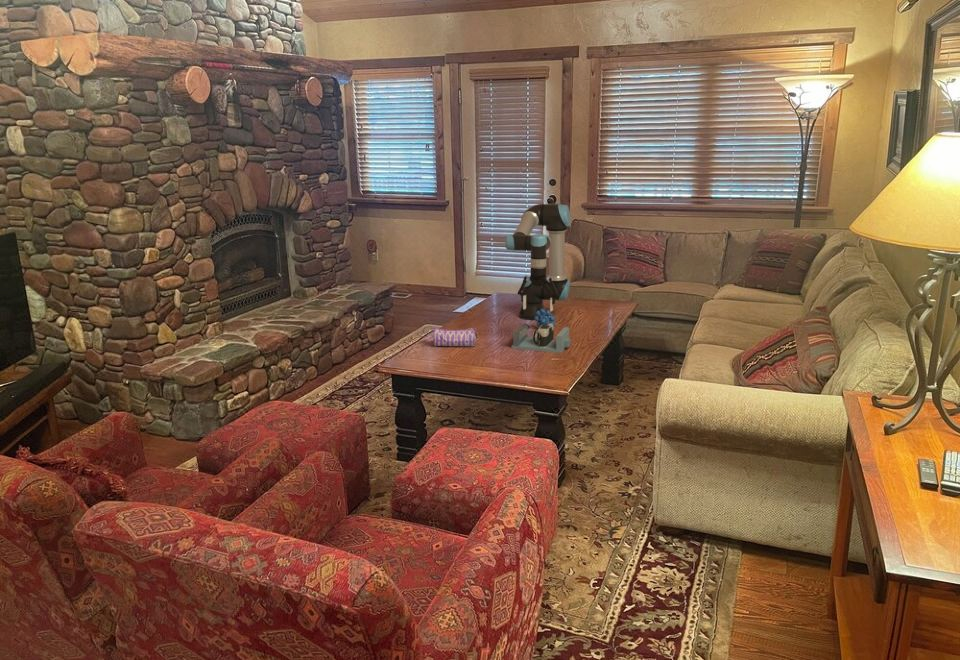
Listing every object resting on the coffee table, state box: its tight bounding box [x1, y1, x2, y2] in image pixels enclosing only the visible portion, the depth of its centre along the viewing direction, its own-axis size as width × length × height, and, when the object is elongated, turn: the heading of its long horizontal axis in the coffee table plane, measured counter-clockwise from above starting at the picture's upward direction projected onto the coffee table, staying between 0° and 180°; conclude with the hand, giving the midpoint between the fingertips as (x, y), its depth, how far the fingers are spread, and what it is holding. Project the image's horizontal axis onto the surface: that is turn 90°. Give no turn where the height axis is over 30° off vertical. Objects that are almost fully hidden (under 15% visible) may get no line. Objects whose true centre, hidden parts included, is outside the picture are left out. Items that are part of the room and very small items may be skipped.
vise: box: [511, 326, 571, 354], centre depth 348 cm, size 16×27×8 cm, turn 70°
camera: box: [532, 324, 555, 348], centre depth 348 cm, size 16×9×10 cm, turn 159°
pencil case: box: [432, 326, 478, 347], centre depth 351 cm, size 22×9×9 cm, turn 91°
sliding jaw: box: [513, 323, 531, 346], centre depth 354 cm, size 22×3×7 cm, turn 160°
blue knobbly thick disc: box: [534, 308, 556, 328], centre depth 373 cm, size 12×7×12 cm, turn 69°
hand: (537, 309), depth 345 cm, fingers open, 13 cm apart
